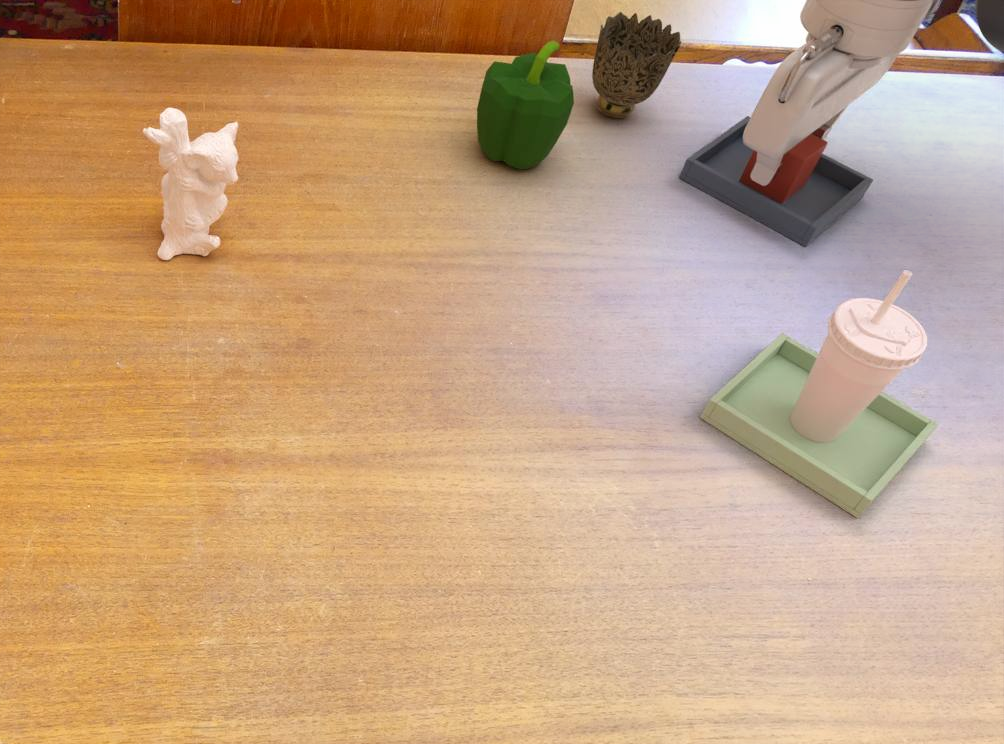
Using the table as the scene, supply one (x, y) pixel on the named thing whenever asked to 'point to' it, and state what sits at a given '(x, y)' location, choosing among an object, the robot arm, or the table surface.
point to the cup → (631, 62)
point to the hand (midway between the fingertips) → (786, 160)
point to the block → (789, 169)
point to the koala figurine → (192, 182)
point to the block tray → (794, 218)
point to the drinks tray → (821, 466)
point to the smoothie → (857, 363)
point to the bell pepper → (524, 108)
